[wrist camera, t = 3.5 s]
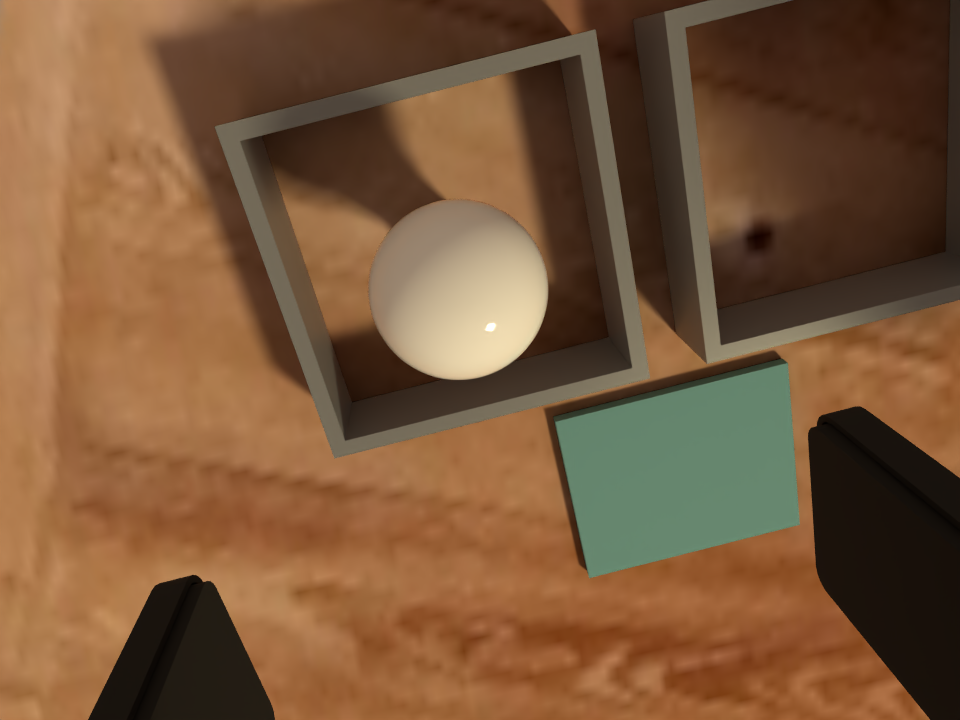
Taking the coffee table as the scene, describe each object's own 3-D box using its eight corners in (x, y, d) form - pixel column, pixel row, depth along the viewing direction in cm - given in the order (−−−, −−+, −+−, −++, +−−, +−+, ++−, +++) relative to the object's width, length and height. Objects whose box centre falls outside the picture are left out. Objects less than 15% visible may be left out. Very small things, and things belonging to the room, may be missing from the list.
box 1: (572, 34, 30) (595, 29, 26) (625, 346, 35) (650, 378, 32) (238, 120, 30) (214, 126, 26) (342, 418, 35) (334, 458, 32)
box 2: (967, -66, 30) (1046, -86, 26) (959, 261, 35) (1023, 283, 32) (633, 19, 30) (664, 12, 26) (675, 333, 35) (706, 363, 32)
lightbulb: (531, 287, 34) (583, 379, 24) (401, 325, 34) (398, 432, 24) (497, 153, 31) (539, 191, 21) (358, 194, 32) (333, 251, 21)
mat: (781, 358, 36) (787, 362, 36) (794, 518, 40) (799, 524, 40) (553, 416, 36) (555, 421, 36) (587, 570, 40) (589, 577, 40)
